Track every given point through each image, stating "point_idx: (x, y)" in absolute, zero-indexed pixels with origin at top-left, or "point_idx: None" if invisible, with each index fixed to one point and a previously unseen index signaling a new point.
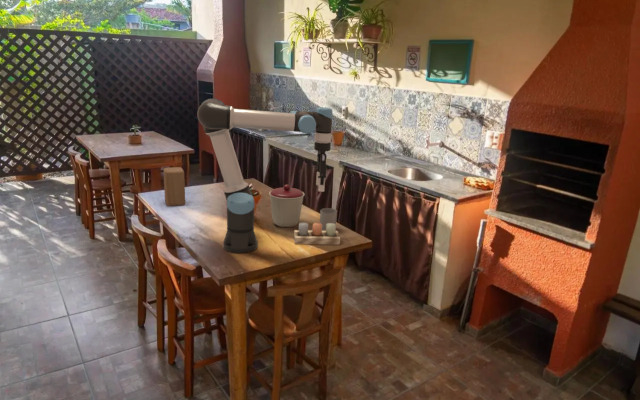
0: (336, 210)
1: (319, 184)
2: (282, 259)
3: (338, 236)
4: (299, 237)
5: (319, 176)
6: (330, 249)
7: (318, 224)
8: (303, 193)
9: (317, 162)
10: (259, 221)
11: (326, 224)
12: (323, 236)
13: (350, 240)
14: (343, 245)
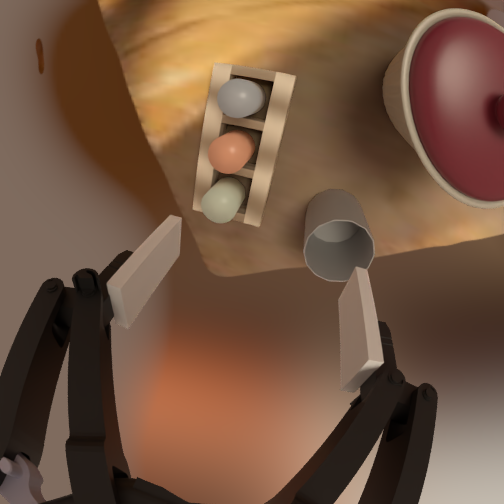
0: (331, 280)
1: (142, 249)
2: (124, 28)
3: None
4: (215, 77)
5: (75, 287)
6: (168, 163)
7: (224, 158)
8: (468, 200)
9: (404, 462)
10: None
11: (221, 190)
12: None
13: (227, 242)
14: None
